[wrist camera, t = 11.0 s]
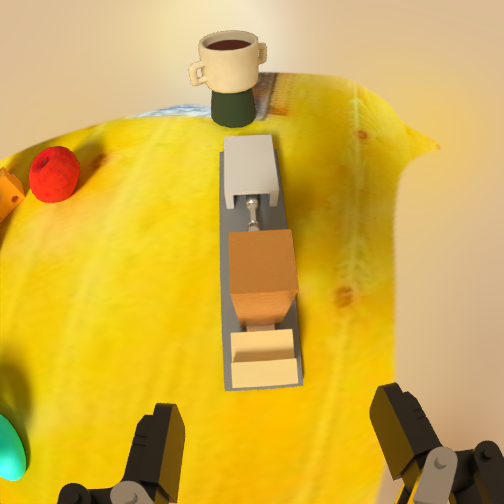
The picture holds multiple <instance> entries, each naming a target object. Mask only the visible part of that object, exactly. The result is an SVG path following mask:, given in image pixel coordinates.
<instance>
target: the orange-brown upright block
mask: <svg viewBox="0 0 504 504" xmlns="http://www.w3.org/2000/svg"><path fill="white" fill-rule="evenodd" d="M246 207H247V209H248V210H249V211H250V219H251V221H250V222H249V223H248V231H247V232H230V233H228V240H229V273H230V295H231V298H232V301H233V305H234V308H235V311H236V314H237V318H238V321H239V324H240V327H241V328H247V332H257V331H272V330H275V326H280V324H281V322H282V321H283V319H284V317H285V315H286V313H287V311H288V309H289V308H290V306H291V304H292V302H293V300H294V298H295V296H296V294H297V292H298V290H299V287H298V279H297V270H296V262H295V254H294V246H293V238H292V230H291V229H285V230H265V231H260V225H259V223H258V221H256V214H255V210H257V208H258V200H257V194H247V195H246Z"/></svg>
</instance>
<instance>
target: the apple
mask: <svg viewBox="0 0 504 504" xmlns="http://www.w3.org/2000/svg"><path fill="white" fill-rule="evenodd" d="M79 173H80V167H79V162H78V160H77V159H76V157H75V155H74V154H73V152H72V151H70V150H69V149H68V148H66V147H62V146H55V147H49V148H47V149H45V150H43V151H42V152H41V153H40V154H38V156H37V157H36V158H35V159H34V161H33V163H32V164H31V166H30V171H29V182H30V188H31V190H32V193H33V194H34V195H35V197H36V198H37V199H38V200H40V201H42V202H45V203H56V202H61V201H63V200H65V199H67V198H68V197H69V196H70V195H71V194H72V193H73V191H74V190H75V188H76V184H77V181H78V177H79Z"/></svg>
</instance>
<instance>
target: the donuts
mask: <svg viewBox="0 0 504 504" xmlns="http://www.w3.org/2000/svg"><path fill="white" fill-rule="evenodd" d="M25 471H26V456H25V451H24V448H23V445H22V442H21V440H20V438H19V436H18V434H17V432H16V431H15V429H14V428H13V426H12V425H11V423H10V422H9V421H8V420H7V419H6V418H5V417H4V416H2V415H1V414H0V476H1V477H3V478H5V479H7V480H11V481H15V480H19V479H20V478H22V477H23V475H24V473H25Z"/></svg>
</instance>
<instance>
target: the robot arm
mask: <svg viewBox="0 0 504 504" xmlns="http://www.w3.org/2000/svg"><path fill="white" fill-rule="evenodd" d="M370 420H371V422H372V425H373V428H374V430H375V433H376V435H377V438H378V440H379V443H380V446H381V448H382V451H383V454H384V456H385V459H386V462H387V464H388V467H389V470H390V472H391V475H392V478H393V480H396V479H399V478H403V481H404V483H403V484H402V487H401V489H400V492H399V494H398V496H397V499H396V501H395V503H394V504H447V501H448V499H449V502H450V504H504V457H503V456H502V453H501V451H500V449H499V447H498V446H497V445H496V444H495V443H494V442H492V441H483V442H481V443H479V444H478V445H477V446H476V447H475V449H471V450H465V451H453V450H452V449H450V448H448V447H443V446H442V444H441V443H440V441H439V439H438V437H437V435H436V434H435V432H434V430H433V428H432V426H431V424H430V422H429V420H428V418H427V417H426V415H425V413H424V411H423V410H422V408H421V406H420V404H419V402H418V400H417V399H416V398H415V397H414V396H413V395H412V394H410V393H409V392H408V391H407V392H404V393H403V392H402V390H401V389H400V387H399V385H398V384H397V383H395V382H394V383H390V384H386V385H382V386H379V387H378V388H377V390H376V393H375V396H374V399H373V401H372V404H371V407H370ZM134 435H135V437H134V438H133V442H132V446H131V449H130V453H129V457H128V461H127V465H126V469H125V473H124V476H123V478H122V480H121V481H120V482H119V483H118V484H116V485H115V486H114V487H111V488H106V489H86V488H85V487H84V486H82V485H80V484H77V483H70V484H67V485H65V486H64V487H63V488H62V489H61V491H60V494H59V498H58V502H57V504H169V503H177V498H178V489H179V481H180V473H181V464H182V457H183V449H184V442H185V426H184V423H183V420H182V418H181V415H180V413H179V410H178V407H177V405H176V404H168V403H157V404H156V405H155V408H154V412H153V415H144V416H143V418H142V419H141V420H140V421H139V423H138V424H137V427H136V431H135V434H134Z"/></svg>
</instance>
